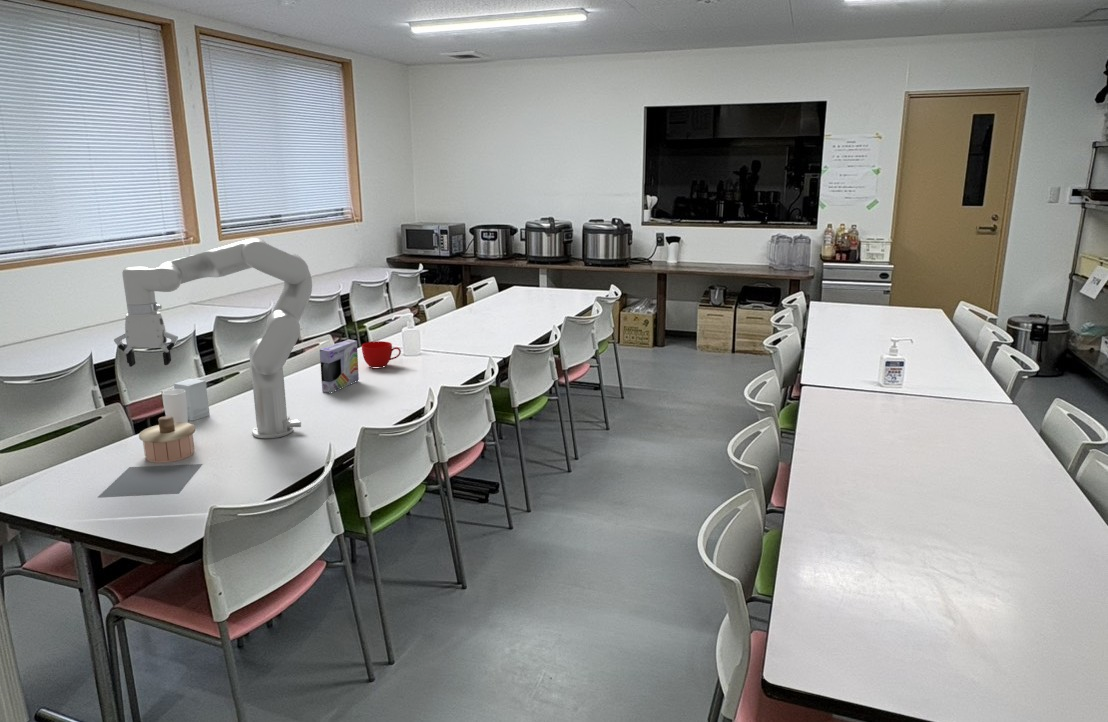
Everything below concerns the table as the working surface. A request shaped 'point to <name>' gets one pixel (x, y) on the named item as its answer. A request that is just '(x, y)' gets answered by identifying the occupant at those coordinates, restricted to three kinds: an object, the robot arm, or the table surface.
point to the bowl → (169, 450)
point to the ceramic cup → (378, 353)
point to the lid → (166, 431)
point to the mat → (151, 480)
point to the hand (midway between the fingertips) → (149, 364)
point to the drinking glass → (176, 405)
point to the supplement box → (195, 397)
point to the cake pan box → (339, 365)
